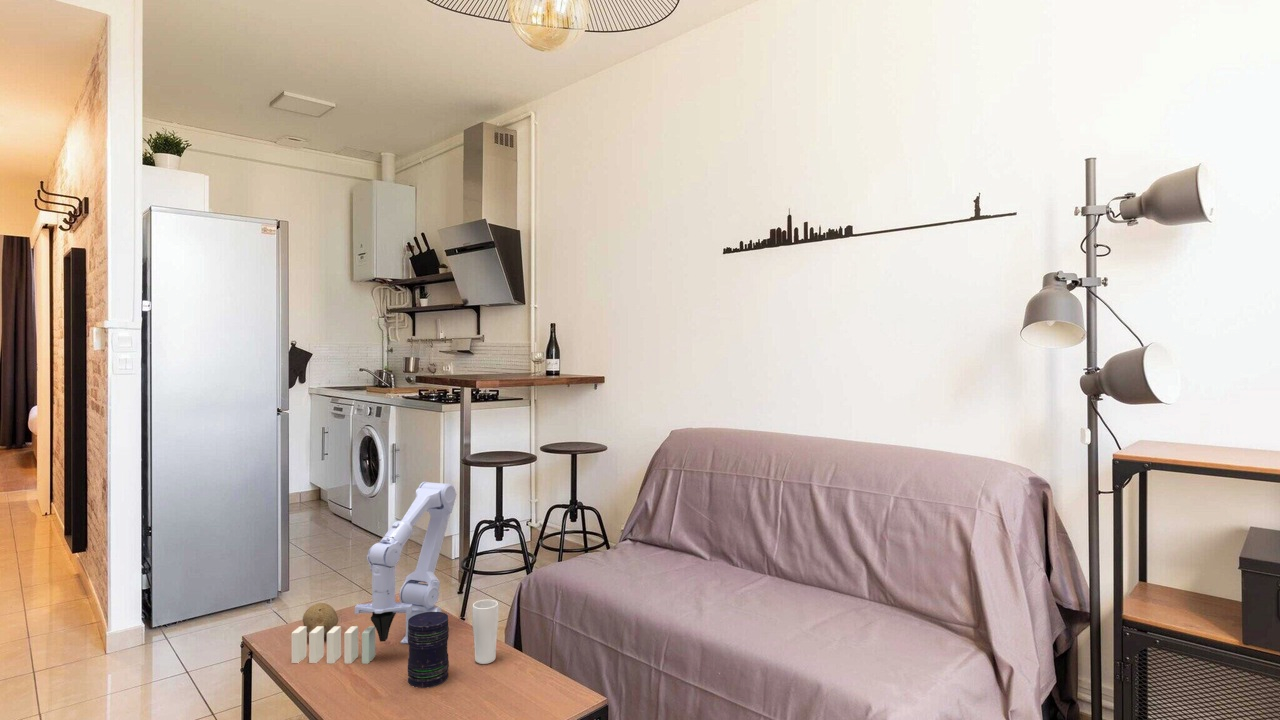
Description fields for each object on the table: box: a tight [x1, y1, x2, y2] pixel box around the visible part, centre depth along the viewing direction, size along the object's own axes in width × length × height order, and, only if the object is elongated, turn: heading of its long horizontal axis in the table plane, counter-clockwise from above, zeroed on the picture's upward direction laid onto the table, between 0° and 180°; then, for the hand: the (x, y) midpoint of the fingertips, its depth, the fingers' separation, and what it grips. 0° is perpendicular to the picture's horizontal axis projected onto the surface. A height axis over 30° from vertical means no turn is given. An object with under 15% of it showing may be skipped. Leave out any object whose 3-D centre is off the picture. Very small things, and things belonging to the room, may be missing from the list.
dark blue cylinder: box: [407, 611, 450, 689], centre depth 168 cm, size 10×10×15 cm
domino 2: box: [308, 626, 325, 664], centre depth 178 cm, size 2×4×8 cm, turn 0°
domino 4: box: [343, 625, 359, 665], centre depth 178 cm, size 2×4×8 cm, turn 0°
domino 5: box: [361, 625, 376, 665], centre depth 178 cm, size 2×4×8 cm, turn 0°
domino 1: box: [290, 625, 308, 664], centre depth 178 cm, size 2×4×8 cm, turn 0°
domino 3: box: [326, 625, 342, 664], centre depth 178 cm, size 2×4×8 cm, turn 0°
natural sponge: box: [302, 602, 339, 637], centre depth 192 cm, size 9×9×10 cm
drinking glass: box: [471, 599, 499, 665], centre depth 178 cm, size 7×7×15 cm
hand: (383, 640), depth 178 cm, fingers closed
